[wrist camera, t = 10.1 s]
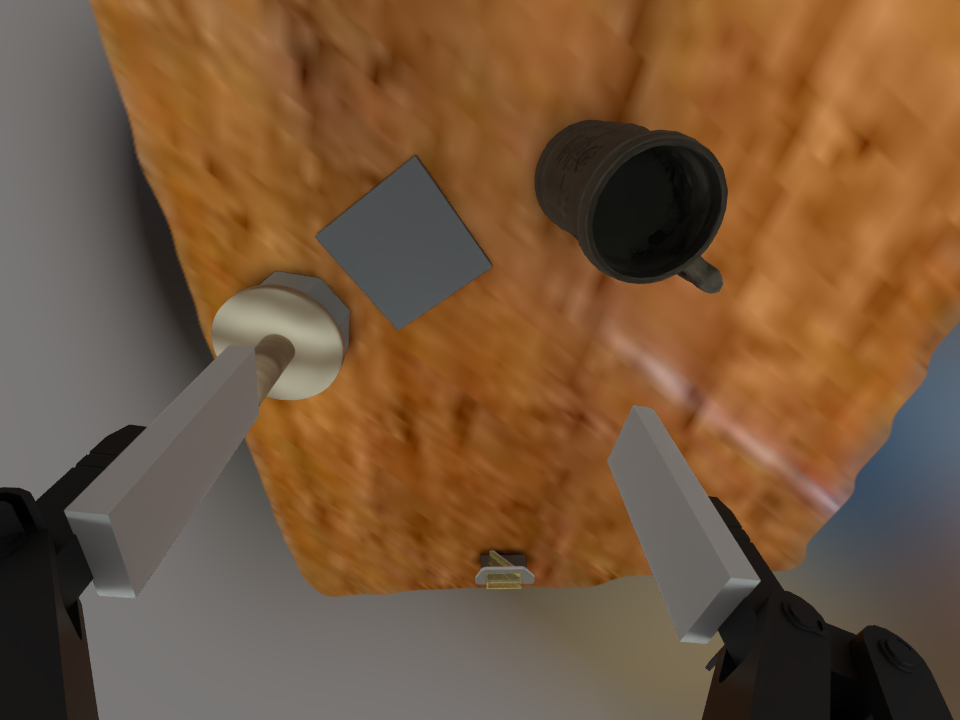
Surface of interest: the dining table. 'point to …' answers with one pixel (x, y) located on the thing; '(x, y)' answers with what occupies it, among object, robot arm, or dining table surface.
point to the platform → (504, 570)
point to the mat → (405, 245)
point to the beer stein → (635, 200)
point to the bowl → (316, 296)
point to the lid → (282, 339)
